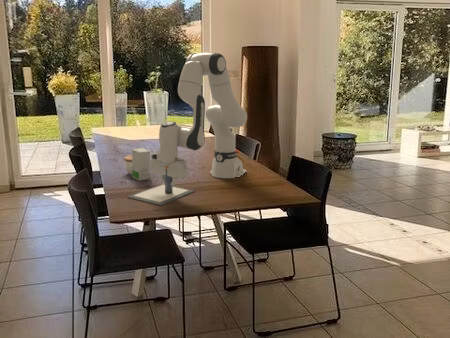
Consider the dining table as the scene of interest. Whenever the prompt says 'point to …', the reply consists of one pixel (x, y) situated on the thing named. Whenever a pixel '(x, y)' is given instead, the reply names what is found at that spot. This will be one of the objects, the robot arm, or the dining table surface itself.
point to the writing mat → (160, 195)
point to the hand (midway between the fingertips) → (168, 184)
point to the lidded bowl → (128, 163)
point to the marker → (168, 183)
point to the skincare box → (140, 164)
